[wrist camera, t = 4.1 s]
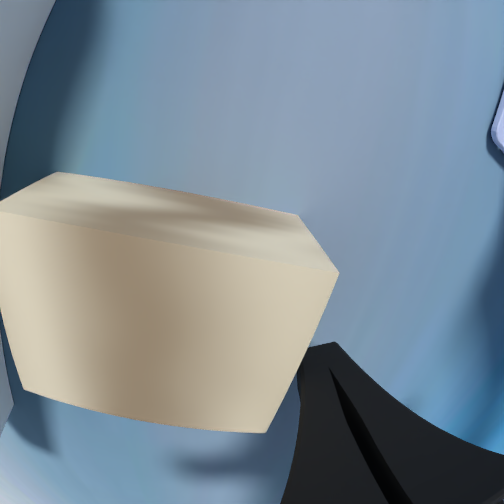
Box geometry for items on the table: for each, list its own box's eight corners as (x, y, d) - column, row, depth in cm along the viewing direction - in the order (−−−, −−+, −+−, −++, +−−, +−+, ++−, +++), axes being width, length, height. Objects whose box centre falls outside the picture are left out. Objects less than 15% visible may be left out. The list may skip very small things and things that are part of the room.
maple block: (296, 214, 10) (339, 273, 7) (252, 352, 13) (265, 433, 9) (58, 170, 9) (-13, 209, 5) (61, 318, 11) (23, 389, 7)
